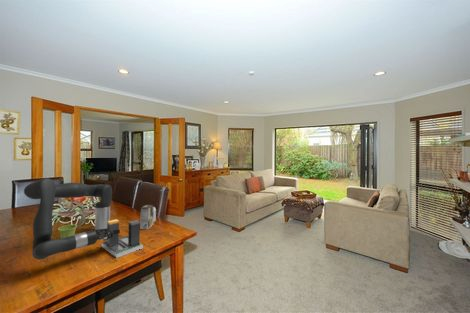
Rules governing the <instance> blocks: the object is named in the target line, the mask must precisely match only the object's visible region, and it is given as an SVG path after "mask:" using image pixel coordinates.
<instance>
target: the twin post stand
mask: <svg viewBox="0 0 470 313" xmlns="http://www.w3.org/2000/svg"><path fill="white" fill-rule="evenodd" d="M140 231H141V229H140V220H138V219H136V220H131V221H129V222H128V234H127V235H124V236H121V237H119V239H118V244H116V245H113V246H110V247H109V246H108V245H107V240H105V241H102V243H101V247H102V249H104V250H105V251H107V252H108V253H109V254H111V255H112V256H113V257H114V258H116V259H118V258H121V257H123V256H125V255H129V254H131V253H134V252H137V251H139V249H140V250H142V249H144V245H143V244H142V243H141V242H140V233H141V232H140ZM136 250H137V251H136Z"/></svg>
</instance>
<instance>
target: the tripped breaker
mask: <svg viewBox="0 0 470 313" xmlns="http://www.w3.org/2000/svg"><path fill="white" fill-rule="evenodd" d="M119 224H120V220H118V219H117V218H116V219H112V220H111V219H110V221H107V231H108V232H110V231H115V230H118V229H119V230H120V227H119ZM119 234H120V233H118V234H115V235H113V237H112V238H109V239H107V240H106V241H107V245H108V246H109V247H110V246H113V245H116V244H118V239H119V238H120V237H119V236H120V235H119Z"/></svg>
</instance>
